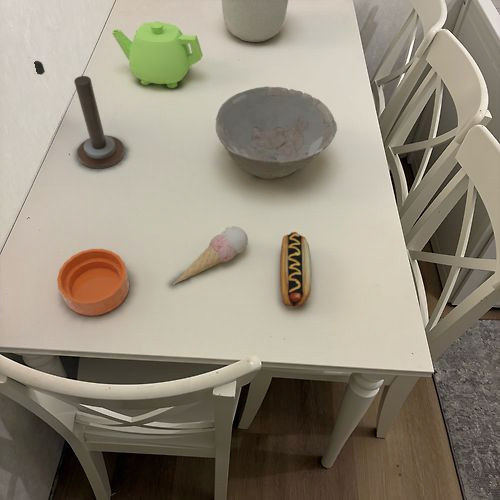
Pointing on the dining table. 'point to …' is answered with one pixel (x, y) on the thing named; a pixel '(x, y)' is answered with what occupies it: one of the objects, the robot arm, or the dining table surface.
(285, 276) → the hot dog
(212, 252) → the ice cream cone
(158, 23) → the teapot
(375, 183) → the dining table surface
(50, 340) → the dining table surface
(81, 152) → the disc
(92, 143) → the masher
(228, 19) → the planter
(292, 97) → the ceramic bowl
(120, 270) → the orange bowl
